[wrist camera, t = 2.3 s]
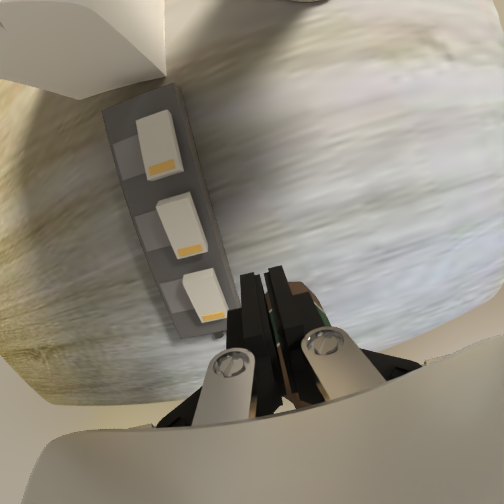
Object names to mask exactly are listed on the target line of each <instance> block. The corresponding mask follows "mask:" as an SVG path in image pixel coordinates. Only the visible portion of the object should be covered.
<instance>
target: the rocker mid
mask: <svg viewBox="0 0 504 504" xmlns="http://www.w3.org/2000/svg"><path fill="white" fill-rule="evenodd" d="M156 209H157V212H158V214H159V217H160V219H161V221H162V224H163V226H164V229H165V231H166V234H167V236H168V238H169V241H170V243H171V245H172V248H173V250H174V252H175V255H176V257H177V259H181V258H185V257H189V256H193V255H197V254H201V253H205V252H208V243H207V240H206V237H205V234H204V232H203V229H202V226H201V223H200V220H199V217H198V214H197V211H196V208H195V206H194V203H193V200H192V197H191V194H190V192H187V193H183V194H180V195H176V196H173V197H170V198H166V199H163V200H160V201H158V203H157V205H156Z"/></svg>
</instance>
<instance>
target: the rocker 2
mask: <svg viewBox="0 0 504 504" xmlns="http://www.w3.org/2000/svg"><path fill="white" fill-rule="evenodd" d="M182 284H183V286H184V288H185V290H186V292H187V294H188V296H189V298H190V300H191V302H192V304H193V306H194V308H195V310H196V312H197V314H198V316H199V318H200V320H201V322H202V323H204V322H209V321H214V320H219V319H224V318H227V311H228V310H229V308H228V305H227V303H226V300H225V298H224V295H223V293H222V290H221V287H220V285H219V282H218V280H217V277H216V274H215V272H214V269H213V268H210V269H206V270H202V271H198V272H193V273H189V274H185V275H183V283H182Z"/></svg>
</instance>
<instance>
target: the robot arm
mask: <svg viewBox="0 0 504 504" xmlns="http://www.w3.org/2000/svg"><path fill="white" fill-rule="evenodd" d="M291 1H300V2H314V1H321V0H291ZM268 270H269V272H267V273H264V277H265V281H266V286H267V290H268V294H269V299H270V303H271V308H272V313H273V317H274V322H275V326H276V330H277V335H278V339H279V343H280V347H281V351H282V355H283V359H284V363H285V367H286V372H287V376H288V380H289V384H290V388H291V392H292V394H295V393H298V395H299V399H300V401H304V402H306V403H309V404H311V406H307V407H303V408H299V409H295V410H291V411H286V412H281V413H277V414H274V412H275V410H276V409H277V408H278V407H279V406H281V405H283V403H282V396H287V392H286V387H285V382H284V377H283V372H282V367H281V363H280V358H279V353H278V348H277V343H276V338H275V334H274V329H273V325H272V321H271V317H270V313H269V310H268V306H267V302H266V298H265V294H264V290H263V286H262V282H261V278H260V274H259V275H254V272H252V273H248V274H243V275H240V285H241V304H242V307H241V308H237V309H232V310H228V311H227V338H226V350H225V351H222V352H220V353H219V354H217V355H216V356H215V357H214V358H213V359H212V360H211V361H210V363H209V365H208V369H207V372H206V376H205V380H204V383H203V386H202V387H201V388H200V389H198V390H197V391H196V392H195V393H193V394H192V395H191V396H190V397H189V398H187V399H186V400H185V401H184V402H183V403H181V404H180V405H179V406H178V407H176V408H175V409H174V410H173V411H171V412H170V413H169V414H167V415H166V416H165V417H164V418H163V419H162V420H161V421H160V422H159V423H158V424H157V426H153V425H152V424H148V425H143V426H139V427H134V428H129V429H100V430H99V429H98V430H86V431H79V432H74V433H70V434H67V435H63V436H61V437H58V438H56V439H54V440H52V441H51V442H50V443H49V444H47V445H46V447H45V448H44V449H43V451H42V453H41V454H40V456H39V458H38V460H37V462H36V464H35V466H34V468H33V471H32V473H31V475H30V478H29V481H28V484H27V486H26V490H25V492H24V495H23V499H22V502H21V504H504V334H503V335H497V336H494V337H491V338H487V339H485V340H481V341H479V342H477V343H474V344H472V345H469V346H467V347H465V348H463V349H461V350H459V351H457V352H454V353H452V354H449V355H445V356H441V357H437V358H433V359H429V360H425V362H424V364H422V365H420V364H419V363H417V362H413V361H411V360H407V359H402V358H397V357H393V356H389V355H384V354H381V353H377V352H372V351H368V350H364V349H361V348H359V347H358V346H357V345H356V344H355V342H354V341H353V340H352V339H351V338H350V336H349V335H348V334H347V333H346V332H345V331H344V330H342V329H340V328H337V327H331V326H327V327H325V324H324V322H323V320H322V318H321V316H320V314H319V312H318V309H317V307H316V305H315V303H314V301H313V299H312V297H311V295H310V293H309V291H307V292H303V293H299V294H295V295H292V292H291V289H290V287H289V284H288V281H287V279H286V276H285V273H284V271H283V268H282V265H281V266H276V267H272V268H268Z"/></svg>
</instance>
